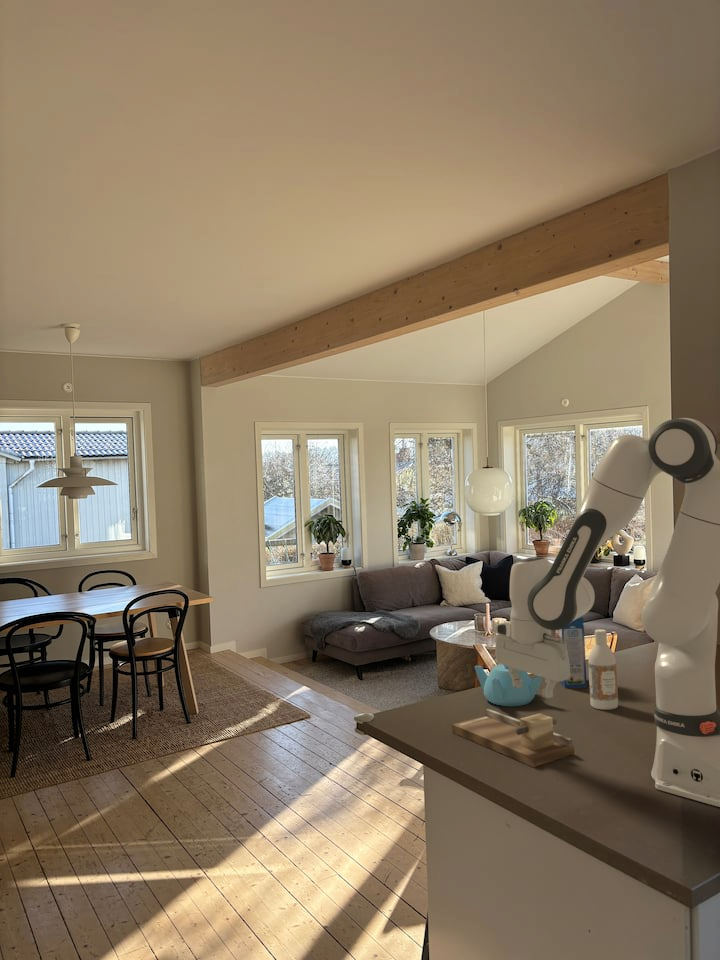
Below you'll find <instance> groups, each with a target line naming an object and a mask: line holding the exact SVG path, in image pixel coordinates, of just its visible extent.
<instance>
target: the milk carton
mask: <svg viewBox="0 0 720 960" xmlns="http://www.w3.org/2000/svg"><path fill="white" fill-rule="evenodd" d="M584 622H585V621H584V617H583V615H582V616H581V617H579V618H578V619H576V620H574V621H572V622H571V623H570V624H569V625H568V626H566V627H565V628H563V629H560V630H554V632H555V633H554V634H555V635H554V636H557V637H560V638H561V639H562V640H563V641H564V643H565V644H566V646H567V652H568V657H569V663H570V677H569V678H568V679H567V680H564V681H559V683H561V685H562V687H564V689H571V688H573V689H575V688H588V684H587V662H586V646H585V645H586V644H585V643H586V642H585V625H584V624H585V623H584Z"/></svg>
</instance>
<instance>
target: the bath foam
mask: <svg viewBox="0 0 720 960" xmlns="http://www.w3.org/2000/svg"><path fill="white" fill-rule="evenodd" d="M607 635H608V634H607V630H606V629H602V628H601V629H599V628H598V629H595V630H594V641H595V642H594V643H595V644H594V645H593V647H592V649H591V651H590V653H589V655H588V659H587V660H588V661H587V662H588V665H587V666H588V681H589V682H588V683H589V697H590V698H589V699H590V700H589V701H590V706H591V707H592V708H593V709H596V710H604V711H609V710H614V709H617V708H618V706H619V696H618V695H619V694H618V693H619V692H618V690H619V689H618V677H617V676H618V674H617V661H616V656H615V654H614V652H613V650H612V649H611V647H610V646H609V645H608V636H607Z"/></svg>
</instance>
